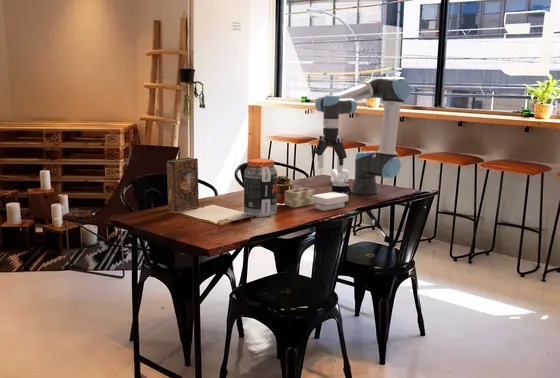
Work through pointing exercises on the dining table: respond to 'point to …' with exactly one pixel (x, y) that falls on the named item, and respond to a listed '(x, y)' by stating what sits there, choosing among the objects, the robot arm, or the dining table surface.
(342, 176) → the white spiral shell
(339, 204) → the block
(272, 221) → the dining table surface
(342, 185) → the mug
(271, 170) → the supplement tub
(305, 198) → the box
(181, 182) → the book
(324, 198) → the lid
